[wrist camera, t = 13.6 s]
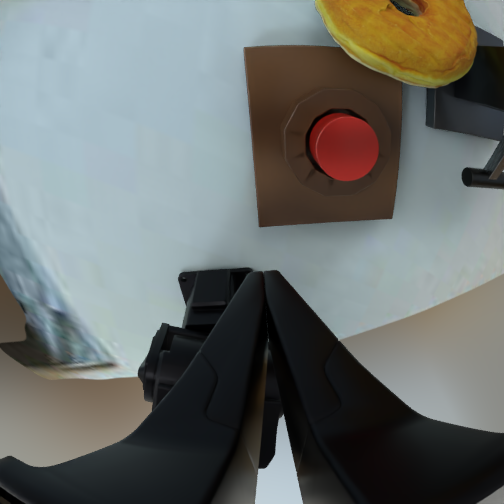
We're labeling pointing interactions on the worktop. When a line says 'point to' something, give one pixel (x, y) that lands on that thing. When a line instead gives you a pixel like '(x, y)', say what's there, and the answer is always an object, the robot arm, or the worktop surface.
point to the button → (344, 146)
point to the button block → (301, 124)
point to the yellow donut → (405, 37)
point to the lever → (487, 171)
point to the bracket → (473, 94)
